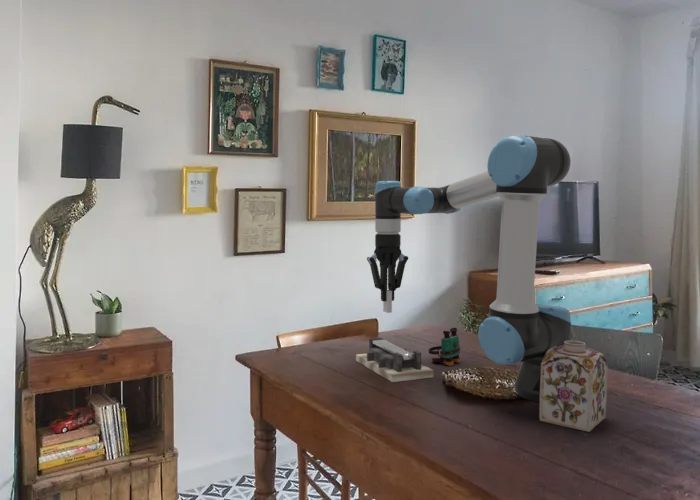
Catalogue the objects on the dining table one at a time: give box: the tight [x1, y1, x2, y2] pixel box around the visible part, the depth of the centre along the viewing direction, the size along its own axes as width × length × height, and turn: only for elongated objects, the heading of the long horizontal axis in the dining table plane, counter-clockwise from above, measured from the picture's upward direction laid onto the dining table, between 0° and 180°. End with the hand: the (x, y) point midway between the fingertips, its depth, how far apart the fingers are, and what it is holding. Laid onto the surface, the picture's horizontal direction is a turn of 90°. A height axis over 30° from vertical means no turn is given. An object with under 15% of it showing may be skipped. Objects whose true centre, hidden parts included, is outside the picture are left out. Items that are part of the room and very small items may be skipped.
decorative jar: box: [538, 340, 609, 433], centre depth 143 cm, size 12×12×18 cm
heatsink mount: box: [355, 337, 435, 383], centre depth 187 cm, size 25×13×7 cm, turn 23°
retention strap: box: [373, 339, 415, 360], centre depth 187 cm, size 20×4×2 cm, turn 23°
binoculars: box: [428, 327, 462, 367], centre depth 195 cm, size 9×11×10 cm
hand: (387, 311), depth 190 cm, fingers closed
